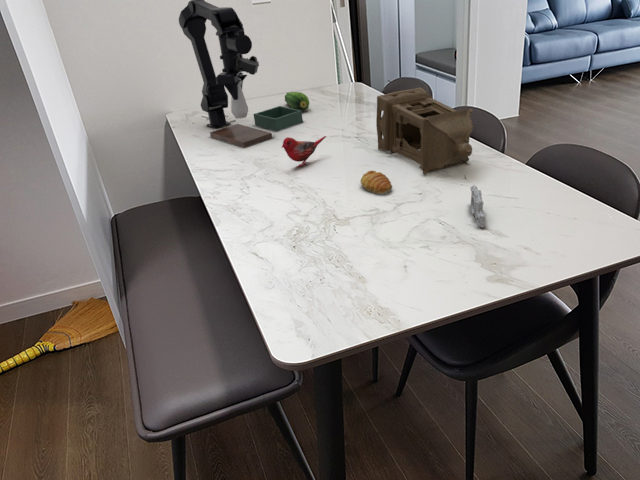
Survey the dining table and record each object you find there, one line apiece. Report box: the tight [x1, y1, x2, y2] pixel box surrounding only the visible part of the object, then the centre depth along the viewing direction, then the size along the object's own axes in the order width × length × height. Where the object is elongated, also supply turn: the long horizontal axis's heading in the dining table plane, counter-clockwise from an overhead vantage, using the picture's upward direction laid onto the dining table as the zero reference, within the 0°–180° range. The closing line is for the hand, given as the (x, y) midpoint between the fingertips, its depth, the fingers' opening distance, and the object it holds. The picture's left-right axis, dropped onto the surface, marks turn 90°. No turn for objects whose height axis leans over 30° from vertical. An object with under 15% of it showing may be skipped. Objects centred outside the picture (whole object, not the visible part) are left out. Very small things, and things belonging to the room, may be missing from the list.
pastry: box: [360, 170, 393, 195], centre depth 141 cm, size 9×7×4 cm
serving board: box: [209, 123, 273, 149], centre depth 187 cm, size 20×12×2 cm, turn 46°
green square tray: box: [252, 105, 304, 132], centre depth 197 cm, size 13×13×4 cm
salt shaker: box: [230, 78, 249, 119], centre depth 181 cm, size 6×6×13 cm
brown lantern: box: [375, 86, 474, 176], centre depth 152 cm, size 35×18×18 cm, turn 26°
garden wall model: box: [469, 184, 486, 228], centre depth 123 cm, size 12×2×6 cm, turn 178°
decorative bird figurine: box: [281, 135, 327, 168], centre depth 158 cm, size 3×18×10 cm, turn 137°
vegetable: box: [284, 91, 310, 112], centre depth 214 cm, size 7×7×20 cm
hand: (238, 99), depth 182 cm, fingers closed on salt shaker, 3 cm apart
